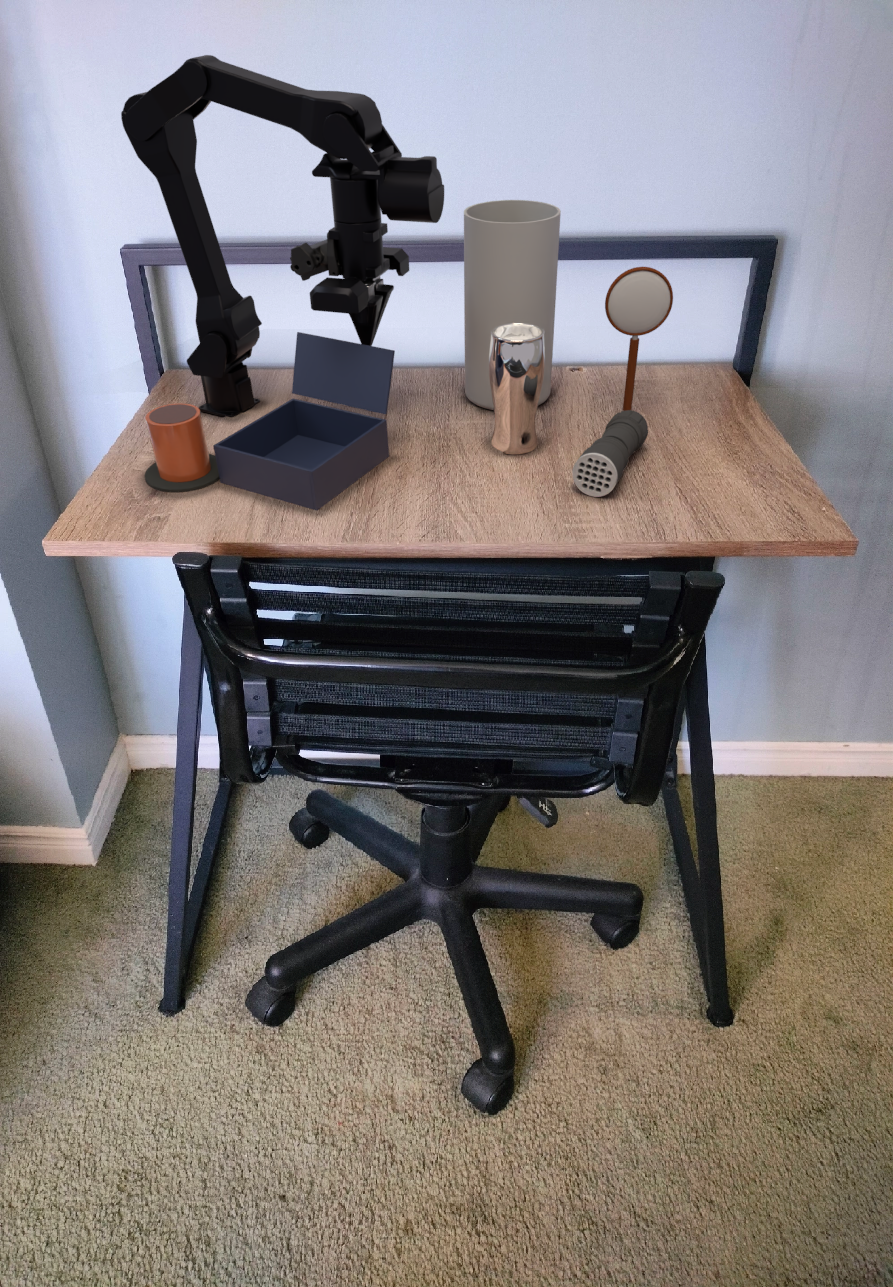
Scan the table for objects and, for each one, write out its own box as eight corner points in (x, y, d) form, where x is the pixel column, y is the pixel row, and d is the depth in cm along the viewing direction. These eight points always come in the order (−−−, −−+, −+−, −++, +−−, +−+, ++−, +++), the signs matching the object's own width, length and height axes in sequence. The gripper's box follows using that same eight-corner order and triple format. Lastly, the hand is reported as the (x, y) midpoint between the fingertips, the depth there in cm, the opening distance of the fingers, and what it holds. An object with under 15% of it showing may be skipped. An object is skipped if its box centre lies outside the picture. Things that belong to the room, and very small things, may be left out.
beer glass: (537, 458, 115) (542, 342, 106) (484, 454, 116) (484, 339, 107) (543, 435, 120) (549, 323, 111) (492, 431, 122) (493, 320, 112)
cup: (147, 475, 112) (133, 418, 107) (183, 454, 116) (171, 399, 112) (186, 486, 109) (174, 429, 105) (222, 465, 114) (211, 409, 109)
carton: (297, 435, 122) (292, 398, 118) (389, 458, 116) (386, 419, 113) (220, 485, 111) (213, 445, 108) (317, 513, 105) (312, 471, 102)
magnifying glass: (595, 419, 124) (608, 269, 112) (594, 414, 125) (607, 265, 113) (658, 419, 124) (678, 268, 111) (656, 414, 125) (676, 264, 113)
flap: (291, 393, 118) (293, 393, 118) (385, 414, 112) (387, 414, 112) (297, 332, 115) (298, 332, 115) (393, 350, 109) (395, 350, 110)
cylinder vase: (447, 398, 131) (443, 213, 115) (500, 372, 138) (504, 195, 122) (515, 421, 124) (521, 228, 109) (567, 393, 131) (579, 208, 116)
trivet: (128, 484, 112) (127, 478, 111) (184, 451, 119) (182, 446, 118) (189, 502, 108) (187, 496, 107) (242, 468, 115) (241, 462, 114)
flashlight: (608, 440, 119) (612, 402, 115) (648, 448, 117) (653, 408, 114) (570, 491, 108) (573, 450, 105) (613, 500, 106) (618, 459, 103)
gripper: (327, 197, 116) (339, 318, 126) (261, 233, 103) (279, 366, 112) (407, 201, 114) (413, 325, 123) (351, 239, 100) (361, 375, 109)
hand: (367, 346), depth 117 cm, fingers closed
